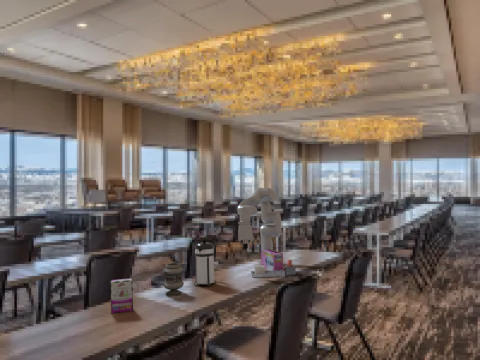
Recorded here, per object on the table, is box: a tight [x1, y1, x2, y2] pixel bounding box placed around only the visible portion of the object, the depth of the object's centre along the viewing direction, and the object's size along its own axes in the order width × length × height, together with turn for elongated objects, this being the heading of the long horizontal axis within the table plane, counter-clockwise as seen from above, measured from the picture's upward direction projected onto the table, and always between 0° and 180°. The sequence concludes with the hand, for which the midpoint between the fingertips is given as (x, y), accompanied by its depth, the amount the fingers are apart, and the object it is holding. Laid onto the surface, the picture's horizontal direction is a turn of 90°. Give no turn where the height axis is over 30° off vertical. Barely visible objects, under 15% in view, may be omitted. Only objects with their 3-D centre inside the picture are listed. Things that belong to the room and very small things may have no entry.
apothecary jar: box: [162, 262, 185, 297], centre depth 240 cm, size 12×12×18 cm
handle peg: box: [286, 259, 293, 266], centre depth 286 cm, size 3×3×10 cm
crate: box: [254, 264, 266, 274], centre depth 282 cm, size 7×6×7 cm
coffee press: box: [193, 238, 217, 288], centre depth 262 cm, size 17×16×30 cm
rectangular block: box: [250, 268, 286, 278], centre depth 282 cm, size 10×23×3 cm, turn 92°
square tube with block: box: [283, 264, 297, 276], centre depth 288 cm, size 12×7×6 cm, turn 2°
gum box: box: [260, 249, 284, 271], centre depth 303 cm, size 24×8×14 cm, turn 22°
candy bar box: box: [110, 277, 134, 314], centre depth 208 cm, size 11×5×16 cm, turn 105°
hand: (245, 249), depth 282 cm, fingers closed
